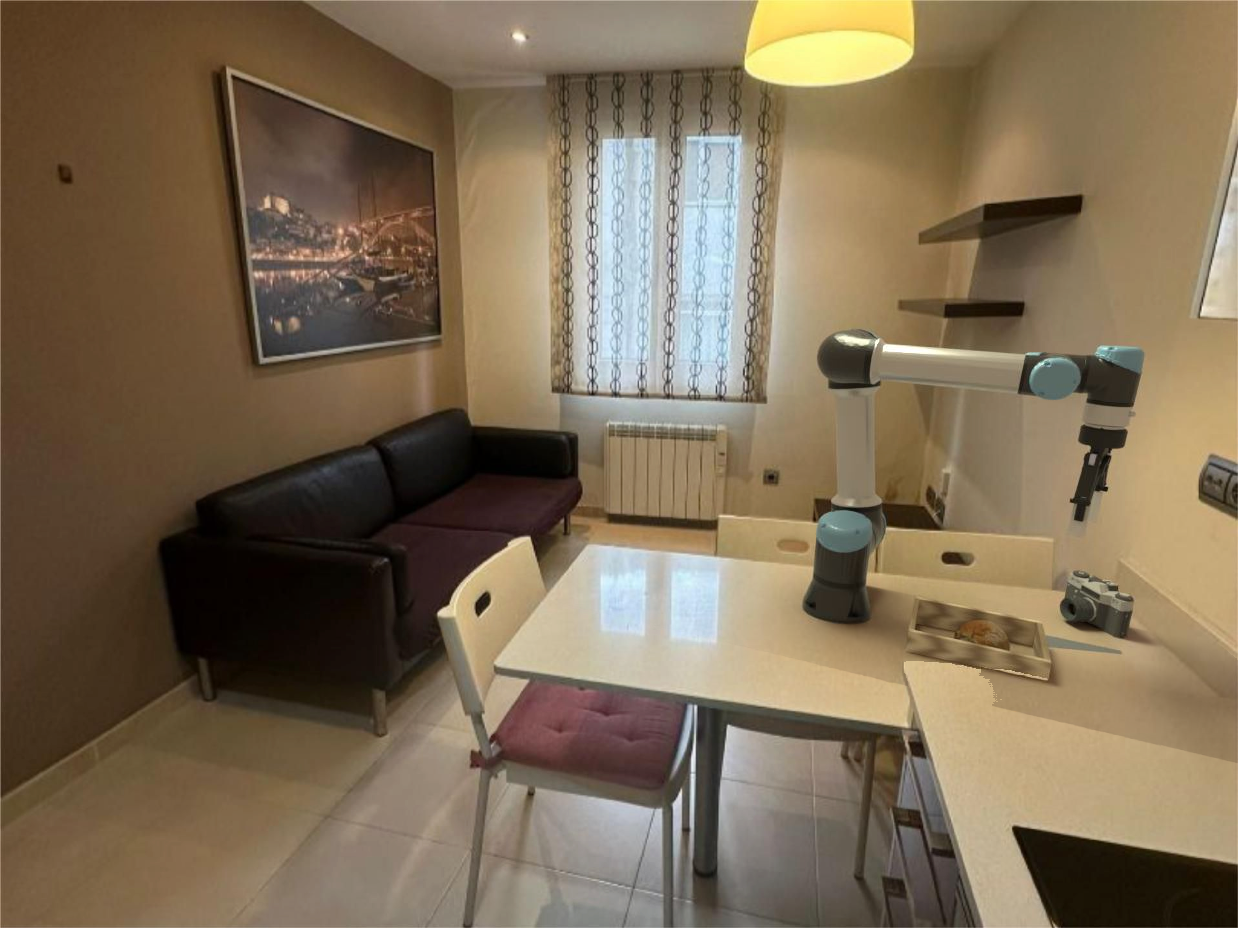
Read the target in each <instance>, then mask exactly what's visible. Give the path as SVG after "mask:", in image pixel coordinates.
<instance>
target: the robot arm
mask: <svg viewBox="0 0 1238 928" xmlns="http://www.w3.org/2000/svg"><path fill="white" fill-rule="evenodd" d="M1144 359H1145V351H1144V350H1143V349H1142V348H1141V347H1140V348H1139V347H1137V346H1125V345H1123V346H1122V345H1100V346H1098V347H1097V349H1096V352H1095V353H1094V354H1088V355H1087V354H1085V355H1084V354H1083V355H1082V354H1074V353H1073V354H1070V353H1057V352H1046V351H1041V352H1038V351H1037V352H1027V353H1025V354H1023V353H1021V354H1020V353H1009V352H1008V353H1007V352H999V351H998V352H997V351H984V350H973V349H972V350H971V349H970V350H969V349H958V348H957V349H956V348H945V347H931V346H920V345H919V346H918V345H909V344H908V345H905V344H895V343H894V344H893V343H886V342H885V341H884V340H883V339H882V338H879V336H878V335H876V334H875V333H873V332H871V331H869V330H866V329H864V328H863V329H862V328H852V329H847V330H846V329H845V330H839V331H836V332H834V333H831V334H830V335H828V336H826V337H825V339H823V341H821V343H820V345H819V348H818V350H817V355H816V363H817V366H818V369H819V371H820V372H821V374H822V375H823V376H824V377H825V378H827V382H828V383H827V386H828V387H827V388H828V391H829V392H830V393H831V394H833V396H834V398H835V399H834V400H835V401H834V402H835V434H836V435H835V438H836V440H835V441H836V442H835V443H836V447H835V448H836V479H837V480H836V481H837V484H836V485H837V487H836V488H837V493H836V494H835V495H834V496H833V497H832V498H831V500H830V504H831V505H830V506H831V507H830V508H831V511H829V512H826V513H824V514H823V515H822V516H821V517H820V518H819V519H818V523H817V526H816V528H815V529H816V530H815V535H816V536H815V537H816V538H815V548H814V561H813V572H812V579H811V581H810V583H809V585H808V587H807V590H806V592H805V593H804V595H803V597H802V605H801V607H802V610H803V612H805V613H806V614H807V615H809V616H810V617H813V618H815V619H818V620H821V621H824V622H829V623H834V624H843V625H856V624H863V623H865V622H867V621H869V620H870V618H871V615H872V609H871V604H870V603H871V602H870V600H869V595H868V591H867V588H866V587H867V586H866V584H867V576H868V570H869V569H868V568H869V560H870V556H871V555H872V553H874V551H875V550H876V548H877V547H878V546H879V545H880V544H881V543H882V541H883V539H884V537H885V535H886V530H887V521H886V520H887V519H886V517H885V515H884V513H883V500H882V498H881V497H880V496H879V495H877V494H876V470H875V469H876V463H875V461H876V459H875V455H876V454H875V453H876V452H875V448H876V447H875V446H876V445H875V393H876V392H877V391H878V390H879V389H880V388H881V387H882V381H884V382H886V381H887V382H896V383H902V384H903V383H904V384H905V383H906V384H915V385H925V386H936V387H945V388H946V387H947V388H953V389H963V390H965V389H966V390H975V391H984V392H993V393H1001V394H1002V393H1003V394H1004V393H1005V394H1013V395H1014V394H1015V395H1020V396H1021V395H1022V396H1030V397H1039V398H1041V399H1043V400H1046V401H1047V400H1048V401H1049V400H1050V401H1058V400H1062V399H1065V398H1067V397H1069V396H1070V395H1072V394H1073V393H1074V394H1075V393H1076V394H1087V398H1086V400H1085V404H1084V407H1083V413H1082V417H1081V422H1082V423H1084V424H1082V425H1080V430H1079V433H1078V438H1077V441H1078V443H1079V444H1080V445H1084V446H1089V447H1090V449H1089V451H1087V453H1084V456H1083V464H1082V467H1081V471H1080V475H1079V479H1078V482H1077V484H1076V485H1077V486H1076V489H1075V492H1074V496H1073V498H1071V497H1070V498H1069V503H1070V504H1072V505H1073V506H1072V509H1071V510H1072V512H1071V516H1070V520H1069V525H1068V529H1067V535H1069V536H1073V537H1074V536H1075V537H1078V538H1081V539H1084V538H1085V536H1086V532H1087V528H1088V527H1087V526H1088V522H1092V523H1097V520H1098V518H1099V512H1100V509H1101V508H1100V507H1101V503H1102V499H1103V495H1104V492H1105V493H1108V491H1109V486H1107V477H1108V473H1109V467H1110V463H1111V461H1112V455H1111V453H1112V451H1113V450H1120V449H1124V447H1125V445H1126V442H1127V437H1128V433H1129V431H1128V429H1127V427H1129V426H1130V423H1131V418H1132V417H1136V415H1137V414H1136V411H1132V410H1134V406H1135V402H1136V398H1137V394H1138V389H1139V386H1140V381H1141V377H1142V374H1143V371H1142V370H1143V368H1144V367H1143V366H1144Z"/></svg>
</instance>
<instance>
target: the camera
mask: <svg viewBox="0 0 1238 928" xmlns="http://www.w3.org/2000/svg"><path fill="white" fill-rule="evenodd" d="M1134 604H1135V599H1134V597H1133V596H1132V595H1130V594H1128V593H1125V592H1121V591H1119V583H1114V582H1112V580H1110V579H1102V578H1099V577H1097V576H1095V574H1094V573H1091V575H1090V573H1088V572H1086V571H1083V570H1074V571H1072V572H1070V573H1069V578H1068V581H1067V583H1066V588H1065V593H1064V598H1063V599H1061V601H1060V603H1059V611H1060V614H1061V616H1062V617H1063V619H1065V620H1066V621H1069V622H1080V623H1081V622H1083V623H1086V622H1087V623H1088V624H1090V625H1092V626H1094V627H1097V628H1099V629H1101V631H1104V632H1105V633H1107V634H1108V635H1111V636H1112V637H1114V638H1126V637H1128V632H1129V629H1130V624H1131V620H1132V615H1133V610H1134V609H1133V607H1134Z"/></svg>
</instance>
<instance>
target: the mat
mask: <svg viewBox="0 0 1238 928" xmlns="http://www.w3.org/2000/svg"><path fill="white" fill-rule="evenodd" d="M1045 636H1046V641H1047V645H1048V648H1053V649H1054V648H1055V649H1064V650H1073V651H1074V650H1075V651H1085V652H1093V653H1094V652H1096V653H1106V654H1117V655H1123V652H1122V651H1121V650H1119V649H1115V648H1110V647H1106V646H1105V647H1104V646H1101V645H1094V644H1090V643H1086V642H1081V641H1077V640H1076V641H1075V640H1070V639H1065V638H1061V637H1057V636H1051V635H1047V634H1045Z"/></svg>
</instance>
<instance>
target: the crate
mask: <svg viewBox="0 0 1238 928" xmlns="http://www.w3.org/2000/svg"><path fill="white" fill-rule="evenodd" d="M913 599H914V600H913V604H912V605H913V606H912V610H911V616H910V622H909V626H908V631H907V632H908V633H907V637H906V646H905V647H906V648H905V652H907V653H911V654H915V655H922V656H926V657H930V658H935V659H939V660H944V661H949V662H954V663H958V664H964V665H968V666H971V667H977V668H981V667H987V668H990V669H1004V670H1012V671H1015V672H1021V673H1024V674H1030V675H1032V676H1039V677H1042V678H1047V679H1048V680H1049V678H1050V673H1051V668H1052V663H1053V662H1052V658H1051V655H1050V650H1049V647H1048V645H1047V641H1046V636H1045V635H1046V632H1045V628H1044V624H1043V621H1041V620H1036V619H1030V618H1024V617H1021V616H1020V617H1019V616H1015V615H1011V614H1007V613H1006V614H1005V613H1002V612H995V611H991V610H986V609H980V608H976V607H971V606H966V605H960V604H956V603H951V602H946V601H940V600H936V599H935V600H934V599H932V598H931V599H930V598H925V597H922V596H921V597H920V596H917V595H916V596H914V598H913ZM977 620H984V621H991V622H993V623H994V624H996V625H997V626H999V627H1000V628H1001V629H1002V630H1003V631H1004V632H1005V634H1006V635H1007V638H1008V641H1009V643H1015V644H1020V645H1024V646H1029V647H1032V649H1033V654H1034V655H1030V654H1029V655H1028V654H1024V653H1021V652H1015V651H1011V650H1010V651H1007V650H1003V649H998V648H994V647H989V646H985V645H980V644H976V643H971V642H967V641H962V640H958V639H954V638H953V637H948V636H944V635H943V636H942V635H939V634H934V633H930V632H925V631H921V630H916V628H917V625H920V626H921V625H923V626H927V627H932V628H937V629H942V630H948V631H953V632H956V631H957V630H958V627H960V626H961V625H963V624H965V623H968V622H971V621H977ZM990 669H989V670H990Z"/></svg>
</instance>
